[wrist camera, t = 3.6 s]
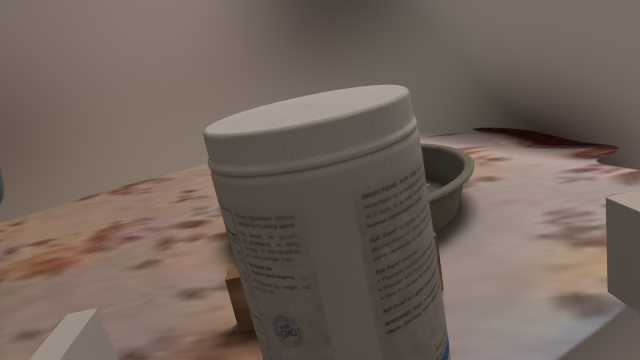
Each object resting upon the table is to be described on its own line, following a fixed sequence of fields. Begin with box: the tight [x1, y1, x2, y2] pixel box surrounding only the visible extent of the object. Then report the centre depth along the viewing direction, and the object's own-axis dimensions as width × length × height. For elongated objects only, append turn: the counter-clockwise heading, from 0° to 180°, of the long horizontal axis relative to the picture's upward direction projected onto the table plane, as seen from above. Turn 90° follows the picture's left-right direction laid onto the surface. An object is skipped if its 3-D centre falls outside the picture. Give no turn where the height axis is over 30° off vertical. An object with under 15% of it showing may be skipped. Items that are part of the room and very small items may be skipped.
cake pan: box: [420, 143, 474, 232], centre depth 47 cm, size 25×25×4 cm
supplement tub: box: [203, 85, 451, 360], centre depth 22 cm, size 10×10×15 cm
